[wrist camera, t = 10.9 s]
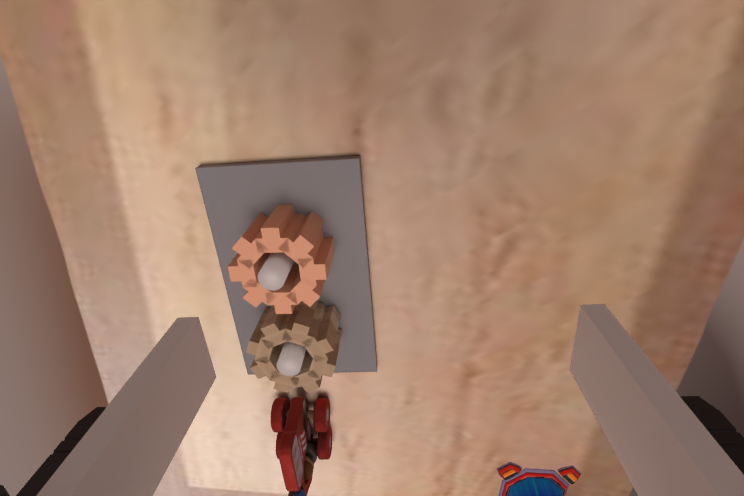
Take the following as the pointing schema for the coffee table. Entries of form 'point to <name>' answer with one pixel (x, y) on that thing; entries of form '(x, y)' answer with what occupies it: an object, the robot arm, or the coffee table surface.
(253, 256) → the loose gear
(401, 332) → the coffee table surface
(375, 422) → the coffee table surface
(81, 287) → the coffee table surface
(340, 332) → the gear
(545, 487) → the fantasy tower
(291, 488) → the toy fire truck
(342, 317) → the gear board
